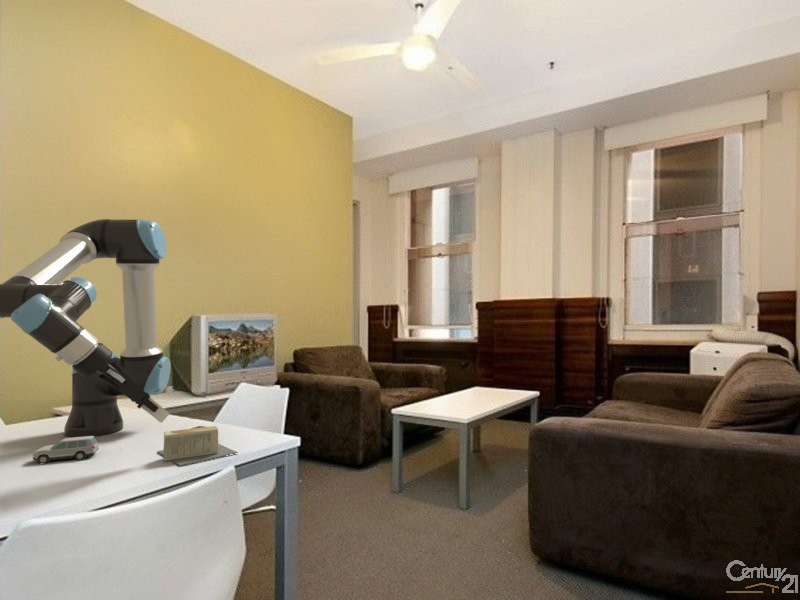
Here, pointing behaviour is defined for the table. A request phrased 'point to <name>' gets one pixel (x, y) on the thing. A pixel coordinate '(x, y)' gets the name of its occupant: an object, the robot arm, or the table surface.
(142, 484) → the table surface
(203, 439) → the skincare box
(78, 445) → the toy car
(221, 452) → the mat
